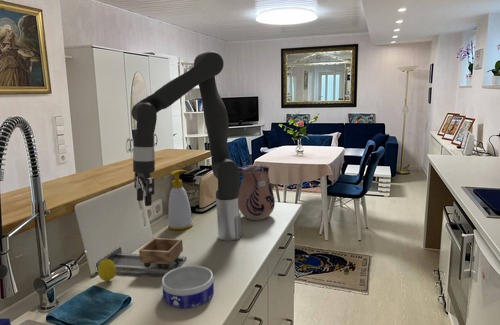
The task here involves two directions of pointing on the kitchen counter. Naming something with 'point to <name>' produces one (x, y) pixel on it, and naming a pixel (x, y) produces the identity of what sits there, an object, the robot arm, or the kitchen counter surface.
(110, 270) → the lemon
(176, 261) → the track
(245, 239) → the kitchen counter surface
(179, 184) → the soap bottle
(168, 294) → the dog bowl
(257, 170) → the ceramic pitcher
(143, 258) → the wooden tray box
